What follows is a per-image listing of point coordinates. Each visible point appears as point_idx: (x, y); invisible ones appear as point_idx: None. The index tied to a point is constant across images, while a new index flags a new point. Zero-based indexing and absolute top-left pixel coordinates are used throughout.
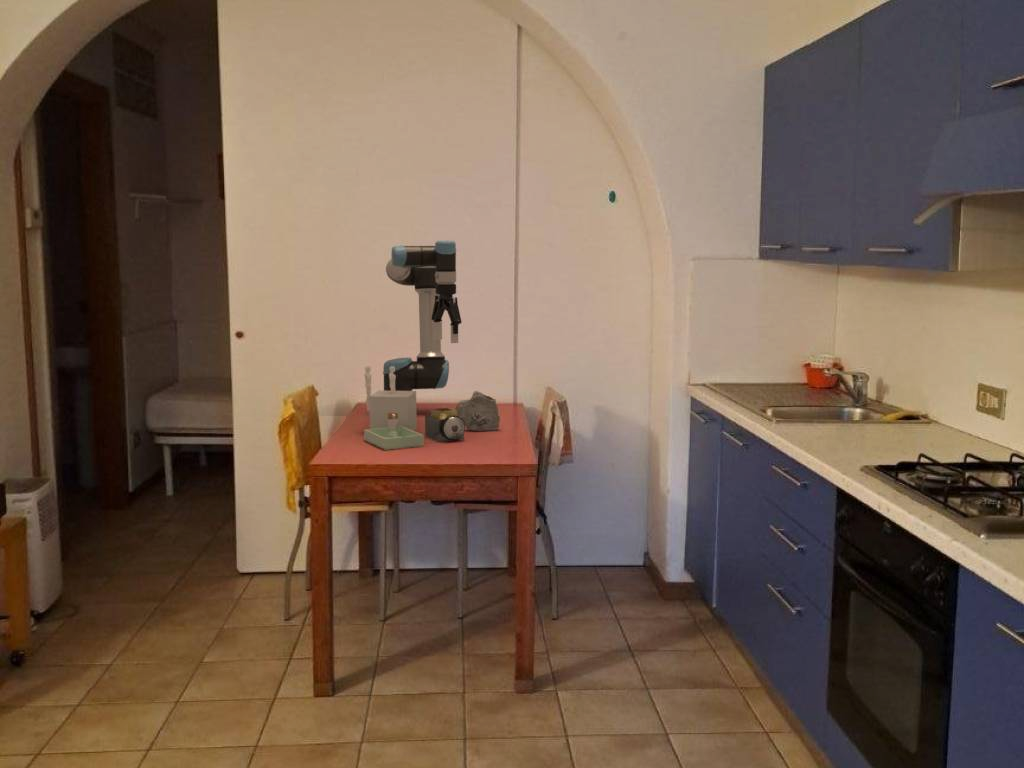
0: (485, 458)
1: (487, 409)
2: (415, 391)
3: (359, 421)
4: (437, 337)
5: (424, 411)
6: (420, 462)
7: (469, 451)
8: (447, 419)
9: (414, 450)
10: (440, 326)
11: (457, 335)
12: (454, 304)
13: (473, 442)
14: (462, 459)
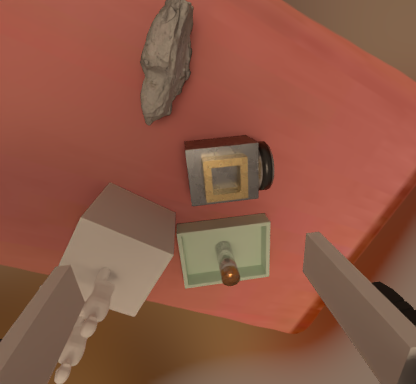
0: (389, 157)
1: (186, 39)
2: (88, 220)
3: (5, 255)
4: (75, 304)
5: None
6: (351, 242)
7: (334, 162)
8: (270, 185)
9: (282, 231)
10: (12, 373)
11: (350, 268)
12: None
13: (277, 128)
14: (372, 190)
